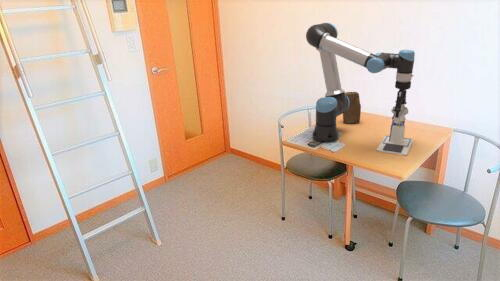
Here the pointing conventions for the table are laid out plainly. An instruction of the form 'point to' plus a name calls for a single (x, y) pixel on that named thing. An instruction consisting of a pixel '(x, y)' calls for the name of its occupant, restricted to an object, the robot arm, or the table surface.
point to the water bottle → (398, 127)
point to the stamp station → (395, 146)
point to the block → (352, 108)
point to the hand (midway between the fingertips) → (398, 119)
